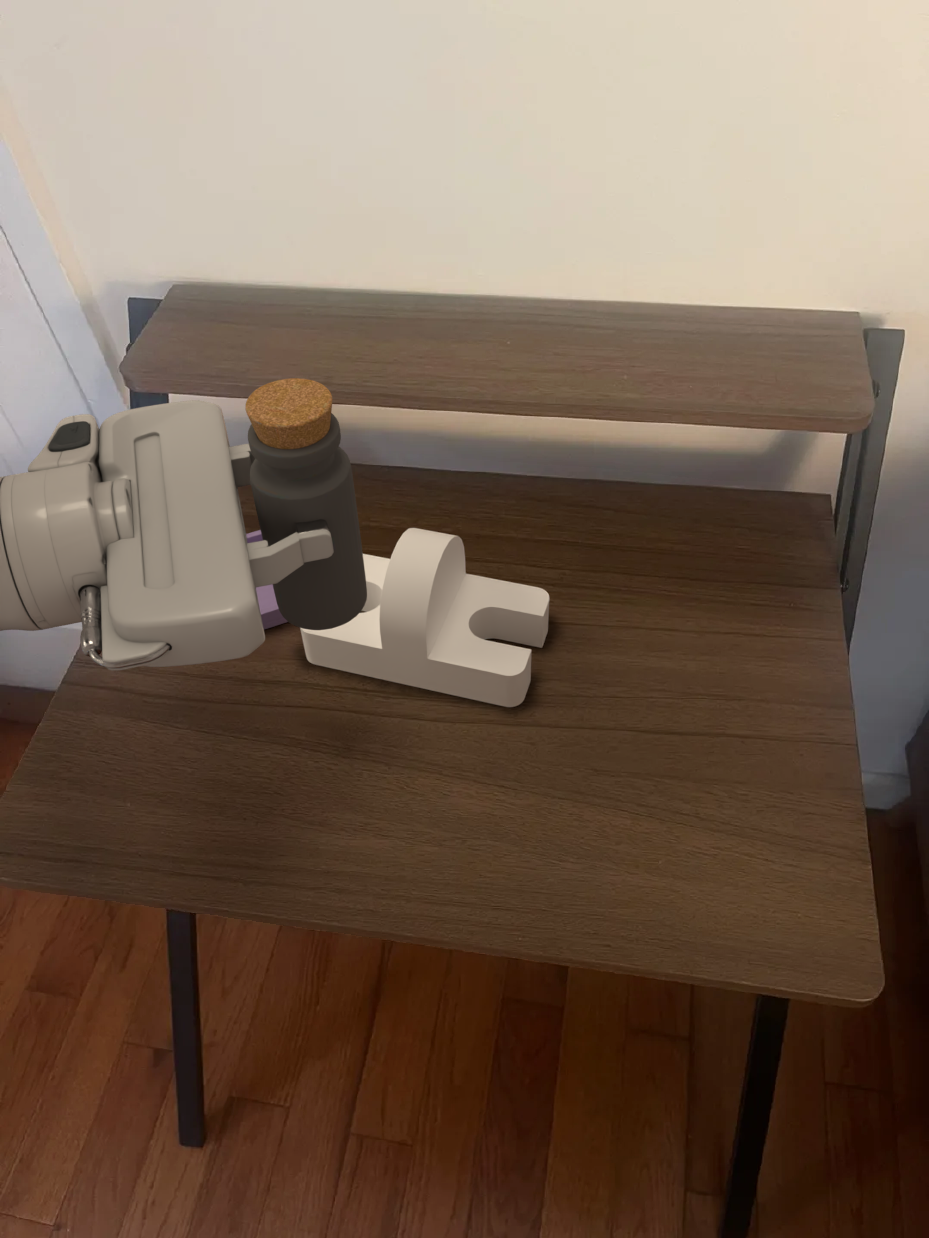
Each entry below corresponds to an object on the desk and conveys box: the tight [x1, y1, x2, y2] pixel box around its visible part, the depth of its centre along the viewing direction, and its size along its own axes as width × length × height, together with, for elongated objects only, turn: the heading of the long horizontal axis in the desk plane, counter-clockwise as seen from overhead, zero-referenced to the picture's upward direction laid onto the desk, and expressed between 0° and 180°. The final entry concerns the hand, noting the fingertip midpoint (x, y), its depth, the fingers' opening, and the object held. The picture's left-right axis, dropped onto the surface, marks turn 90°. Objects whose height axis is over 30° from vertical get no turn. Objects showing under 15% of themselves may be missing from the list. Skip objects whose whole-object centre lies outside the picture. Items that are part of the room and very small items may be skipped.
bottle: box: [244, 377, 367, 630], centre depth 60 cm, size 6×6×15 cm
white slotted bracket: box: [299, 527, 550, 708], centre depth 78 cm, size 10×18×10 cm, turn 73°
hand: (320, 498), depth 60 cm, fingers closed on bottle, 6 cm apart
